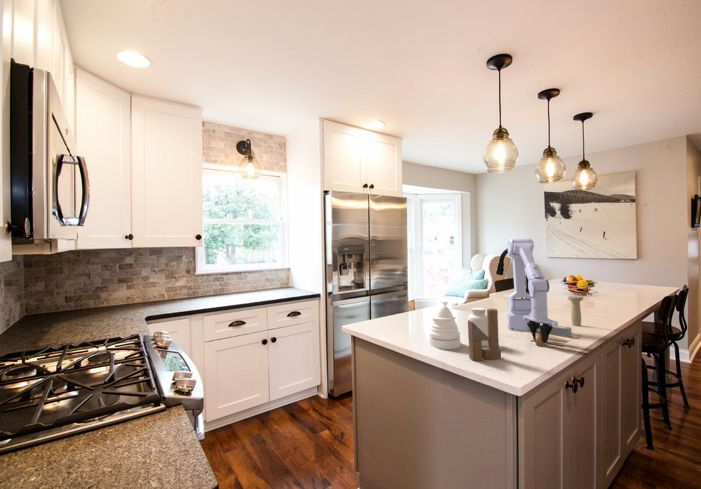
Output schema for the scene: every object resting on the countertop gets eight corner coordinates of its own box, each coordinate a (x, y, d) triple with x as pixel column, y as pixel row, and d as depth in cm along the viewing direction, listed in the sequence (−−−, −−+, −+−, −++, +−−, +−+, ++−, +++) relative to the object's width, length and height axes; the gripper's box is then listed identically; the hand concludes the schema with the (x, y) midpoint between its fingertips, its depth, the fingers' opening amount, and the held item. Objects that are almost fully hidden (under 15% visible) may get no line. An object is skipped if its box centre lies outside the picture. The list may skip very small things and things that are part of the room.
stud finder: (568, 337, 141) (568, 329, 141) (550, 334, 146) (550, 326, 146) (571, 335, 144) (571, 327, 144) (553, 333, 149) (553, 324, 149)
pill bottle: (488, 342, 143) (487, 307, 143) (490, 347, 135) (488, 310, 135) (469, 341, 145) (468, 306, 145) (469, 346, 138) (468, 310, 138)
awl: (536, 346, 135) (536, 330, 135) (535, 343, 138) (534, 327, 138) (546, 346, 134) (545, 330, 134) (544, 344, 137) (543, 328, 137)
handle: (586, 328, 159) (585, 297, 159) (575, 329, 158) (574, 297, 158) (577, 326, 164) (576, 295, 164) (566, 327, 163) (565, 296, 163)
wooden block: (468, 357, 124) (467, 309, 124) (496, 356, 125) (494, 308, 125) (473, 361, 120) (471, 311, 120) (501, 359, 121) (499, 310, 121)
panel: (563, 347, 133) (563, 344, 133) (531, 341, 142) (531, 338, 142) (581, 337, 145) (581, 334, 145) (551, 332, 154) (551, 329, 154)
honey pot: (434, 338, 150) (432, 299, 151) (463, 342, 144) (462, 300, 144) (425, 346, 139) (423, 303, 139) (456, 350, 133) (454, 305, 133)
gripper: (563, 309, 131) (564, 344, 131) (531, 304, 144) (532, 335, 144) (550, 311, 128) (551, 346, 128) (518, 305, 142) (520, 337, 142)
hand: (540, 341), depth 136 cm, fingers closed on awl, 3 cm apart
